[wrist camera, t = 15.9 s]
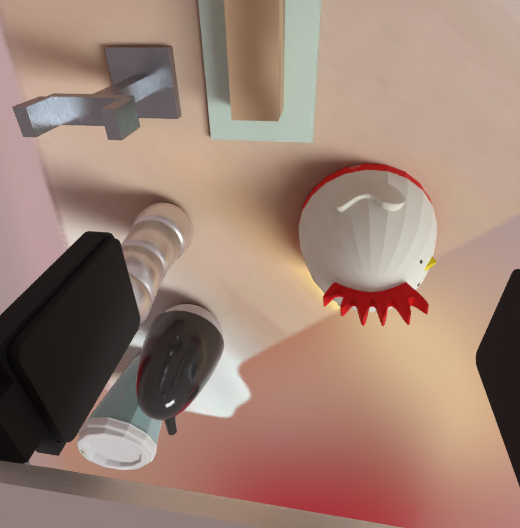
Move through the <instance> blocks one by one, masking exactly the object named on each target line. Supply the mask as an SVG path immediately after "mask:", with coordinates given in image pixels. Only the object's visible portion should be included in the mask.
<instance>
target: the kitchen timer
mask: <svg viewBox="0 0 520 528" xmlns="http://www.w3.org/2000/svg"><path fill="white" fill-rule="evenodd" d="M298 232H299V242H300V250H301V253H302V256H303V258H304V260H305V263H306V265H307V267H308V269H309V272H310V274H311V276H312V278H313V280H314V282H315V283H316V284H317V285H318V286H319V287H320V288H321V290H322V291H323V292H324V293H325V294H324V296H323V302H324V306H326V305H327V304H328V303H330V302H331V301H332V300H334V301H336V302H337V303H338V305H339V306H341V316H344V315H345V314H346V313H347V312H348V310H349V309H353V310H356V311H358V314H359V318H360V321H361V324H362V325H363V326H364V325H365V323H366V319H367V316H368V312H375V311H377V313H378V316H379V319H380V322H381V324H382V326H384V324H385V321H386V317H387V310H389V309H391V308H393V307H394V308H396V310H397V311H398V312H399V314H400V315H401V316H402V318H403V320H404V321H405V322H406V323H407V324H408V325H409V324H410V315H411V311H410V306H414V307H416V308H418V309H419V310H421V311H422V312H424V313H425V314H427V313H428V306H429V305H428V303H427V302H426V300H425V299H424V298H423V297H422V296H421V295H420V294H419V293H418V292H417V291H416V289H417V288H418V287H419V286H420V285H421V283H422V281H423V280H424V278H425V276H426V274H427V271H428V270H429V268H430V267H432V266H433V265H434V264H435V263H436V260H435V259H434V258H433V255H434V250H435V243H436V235H437V222H436V218H435V214H434V209H433V205H432V203H431V200H430V198H429V196H428V195H427V193H426V192H425V190H424V189H423V187H422V186H421V184H420V183H419V182H418V181H416V180H415V179H414V178H412V177H411V176H410V175H408V174H407V173H406V172H404V171H402V170H399V169H396V168H393V167H390V166H388V165H380V164H360V165H355V166H350V167H345V168H343V169H341V170H339V171H337V172H335V173H333V174H331V175H329V176H327V177H326V178H324V179H323V180H322V181H321V182H320V183H319V184H318V185H317V186H316V187H314V188H313V189H312V191H311V192H310V194H309V196H308V197H307V199H306V201H305V202H304V204H303V208H302V212H301V216H300V220H299V226H298Z"/></svg>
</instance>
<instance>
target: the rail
mask: <svg viewBox="0 0 520 528" xmlns="http://www.w3.org/2000/svg"><path fill="white" fill-rule="evenodd" d="M224 9H225V25H226V41H227V57H228V73H229V89H230V105H231V120H240V121H279V118H280V116H281V114H282V112H283V109H284V40H285V0H224Z"/></svg>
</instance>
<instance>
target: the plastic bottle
mask: <svg viewBox="0 0 520 528" xmlns="http://www.w3.org/2000/svg"><path fill="white" fill-rule="evenodd" d="M192 234H193V226H192V223H191V220H190V218H189V217H188V215H187V214H186V213H185V212H184V211H183V210H182V209H181V208H179V207H177V206H175V205H173V204H169V203H155V204H152V205H150V206H148V207H147V208H146V209H144V210H143V211H141V212H140V213H139V214H138V216H137V217H136V219H135V221H134V223H133V225H132V228H131V230H130V232H129V234H128V235H127V237H126V238H125V240H124V241H123V243H122V244H121V247H122V251H123V254H124V258H125V262H126V266H127V269H128V273H129V277H130V280H131V284H132V288H133V291H134V295H135V299H136V302H137V306H138V310H139V313H140V325H139V327H140V326H141V325H142V324H143V323H144V322H145V321H146V319H147V318H148V316H149V313H150V311H151V308H152V306H153V303H154V300H155V297H156V294H157V291H158V289H159V287H160V285H161V283H162V281H163V278H164V277H165V275H166V273H167V271H168V270H169V269H170V267H171V266H172V265H173V263H174V262H175V261H176V260H177V259H178V258H179V257H180V256H181V255H182V254H183V253H184V252H185V251H186V249H187V248H188V247H189V245H190V242H191V238H192Z"/></svg>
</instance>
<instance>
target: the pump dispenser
mask: <svg viewBox="0 0 520 528" xmlns="http://www.w3.org/2000/svg"><path fill="white" fill-rule="evenodd" d="M223 350H224V341H223V335H222V330H221V327H220V324H219V322H218V321H217V319H216V318H215V317H214V316H213V315H212V314H211V313H210V312H209V311H207V310H206V309H204V308H202V307H199V306H196V305H191V304H181V305H176V306H173V307H171V308H169V309H167V310H166V311H164V312H163V313H162V314H160V315H158V316H157V317H156V318H155V319H154V320H153V321H152V323H151V325H150V327H149V329H148V331H147V334H146V337H145V340H144V343H143V346H142V350H141V354H140V358H139V364H138V370H137V379H136V393H137V400H138V404H139V407H140V409H141V410H142V412H143V413H144V414H145V415H146V416H148V417H149V418H151V419H154V420H164V421H165V424H166V428H167V431H168V434H169V435H174V434H175V433H176V432H177V428H176V427H177V426H176V415H178V414H180V413H181V412H182V411H183V410H185V409H186V408H187V407H188V406H189V405H190V404H191V403H192V402H193V401H194V399H195V398H196V397H197V396H198V394H199V393H200V392H201V391H202V389H203V388H204V386H205V385H206V384H207V382H208V381H209V379H210V377H211V376H212V374H213V372H214V370H215V369H216V367H217V365H218V363H219V361H220V358H221V356H222V353H223Z"/></svg>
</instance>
